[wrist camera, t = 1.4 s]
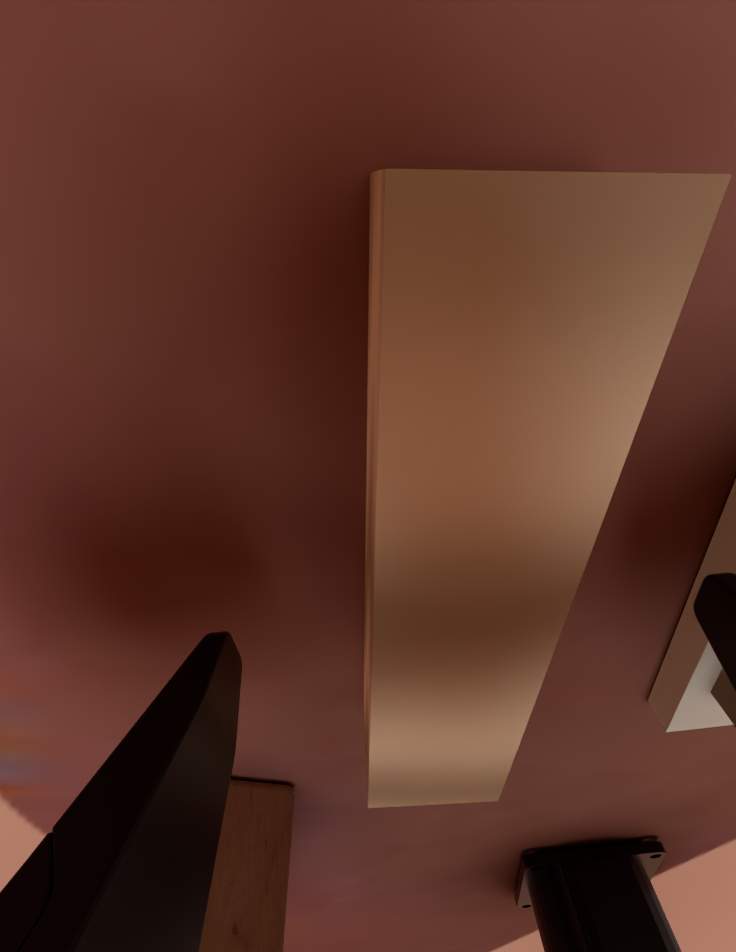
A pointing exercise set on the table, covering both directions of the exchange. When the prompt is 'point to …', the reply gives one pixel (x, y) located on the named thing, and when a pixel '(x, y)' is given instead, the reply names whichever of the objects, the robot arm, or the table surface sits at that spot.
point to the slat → (499, 439)
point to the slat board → (698, 651)
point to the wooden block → (250, 870)
